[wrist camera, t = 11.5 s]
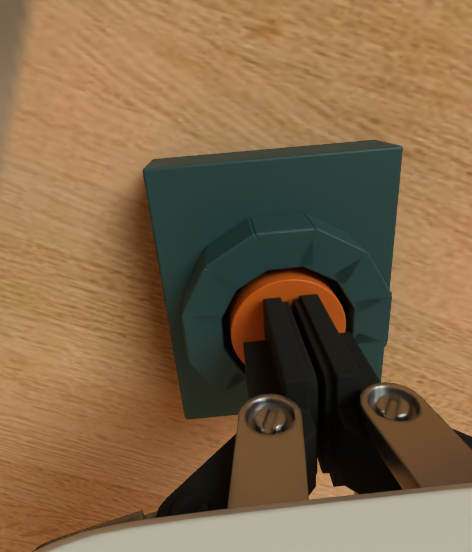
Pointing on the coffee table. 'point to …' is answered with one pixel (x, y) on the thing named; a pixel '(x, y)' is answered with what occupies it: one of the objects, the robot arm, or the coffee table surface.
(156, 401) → the coffee table surface
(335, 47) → the coffee table surface
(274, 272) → the button
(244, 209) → the button block
